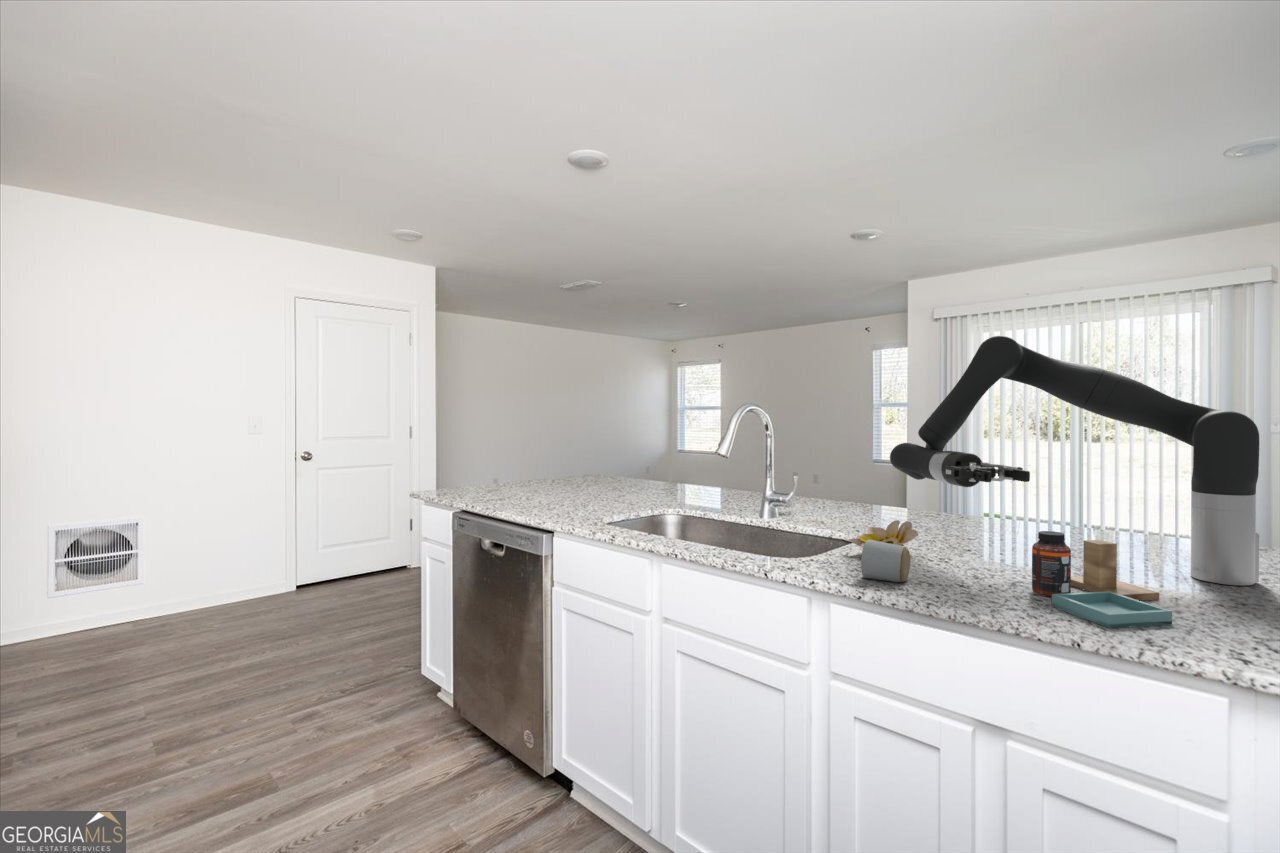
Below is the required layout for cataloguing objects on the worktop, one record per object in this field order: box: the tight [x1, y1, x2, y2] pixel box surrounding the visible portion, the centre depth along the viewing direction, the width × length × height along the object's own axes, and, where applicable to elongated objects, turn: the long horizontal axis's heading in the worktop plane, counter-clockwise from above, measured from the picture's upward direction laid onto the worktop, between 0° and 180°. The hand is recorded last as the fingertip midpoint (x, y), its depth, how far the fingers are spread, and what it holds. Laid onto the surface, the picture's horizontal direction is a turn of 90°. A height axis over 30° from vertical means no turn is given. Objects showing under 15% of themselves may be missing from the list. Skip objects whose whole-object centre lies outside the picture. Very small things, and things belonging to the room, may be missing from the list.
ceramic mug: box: [860, 540, 911, 583], centre depth 126 cm, size 11×8×8 cm
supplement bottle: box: [1031, 530, 1072, 598], centre depth 113 cm, size 6×6×11 cm
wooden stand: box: [1071, 539, 1160, 601], centre depth 115 cm, size 8×12×9 cm, turn 8°
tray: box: [1051, 591, 1173, 629], centre depth 102 cm, size 11×11×2 cm
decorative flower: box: [847, 519, 919, 559], centre depth 144 cm, size 15×11×10 cm
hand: (1009, 476), depth 123 cm, fingers open, 8 cm apart
